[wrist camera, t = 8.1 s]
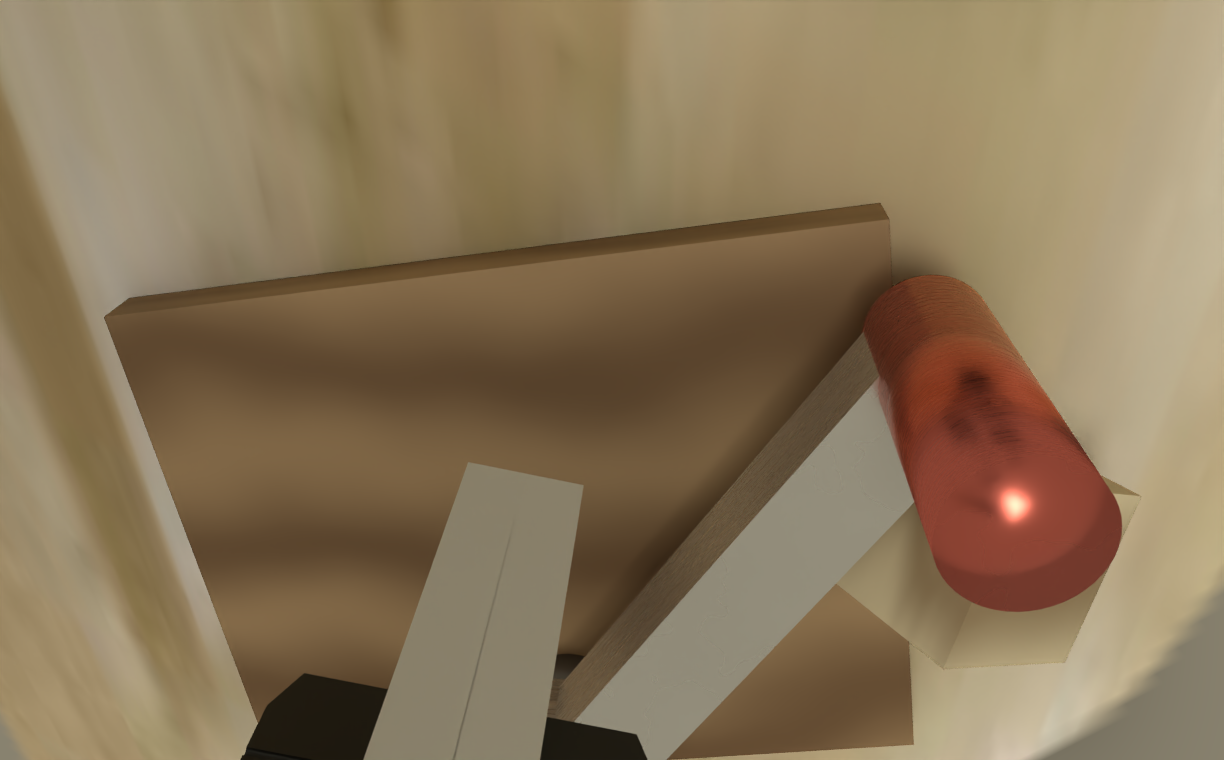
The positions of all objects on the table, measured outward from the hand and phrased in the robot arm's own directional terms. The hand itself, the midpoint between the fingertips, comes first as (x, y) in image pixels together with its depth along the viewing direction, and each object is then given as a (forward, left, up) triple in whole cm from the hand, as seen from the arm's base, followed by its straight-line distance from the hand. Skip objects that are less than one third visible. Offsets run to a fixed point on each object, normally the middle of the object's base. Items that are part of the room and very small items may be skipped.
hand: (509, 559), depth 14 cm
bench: (+10, -4, -17) cm, 20 cm away
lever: (+10, +2, -14) cm, 17 cm away
